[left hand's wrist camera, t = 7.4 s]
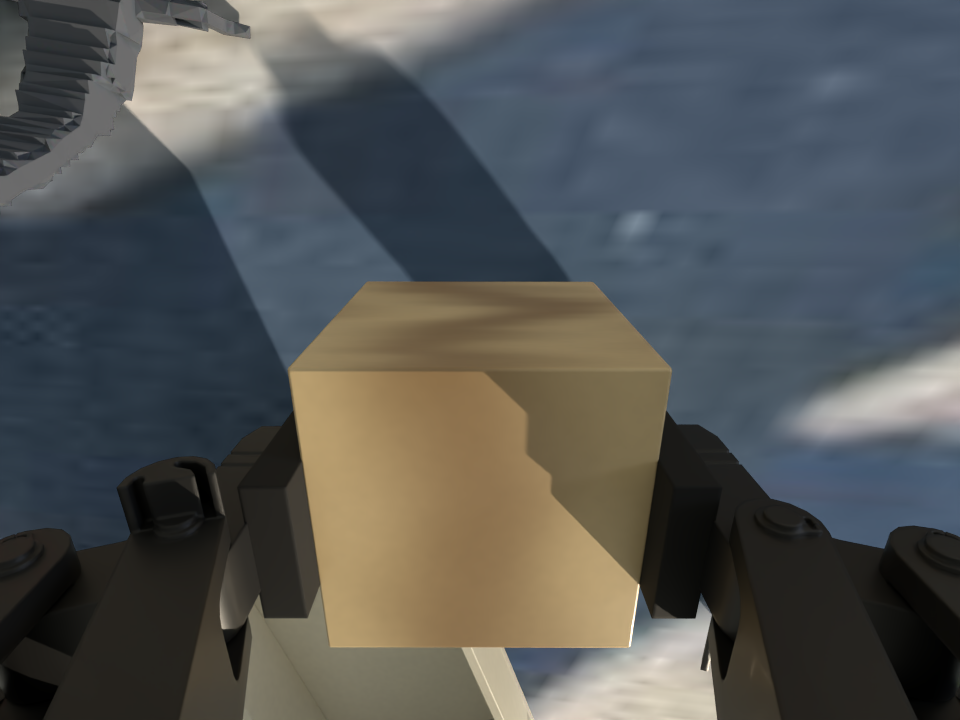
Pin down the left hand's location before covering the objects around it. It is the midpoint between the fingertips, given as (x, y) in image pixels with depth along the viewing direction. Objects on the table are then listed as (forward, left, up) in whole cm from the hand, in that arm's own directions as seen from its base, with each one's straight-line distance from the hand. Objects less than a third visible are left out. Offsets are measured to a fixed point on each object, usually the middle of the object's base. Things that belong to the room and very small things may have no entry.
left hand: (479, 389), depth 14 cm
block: (0, 0, 0) cm, 0 cm away
